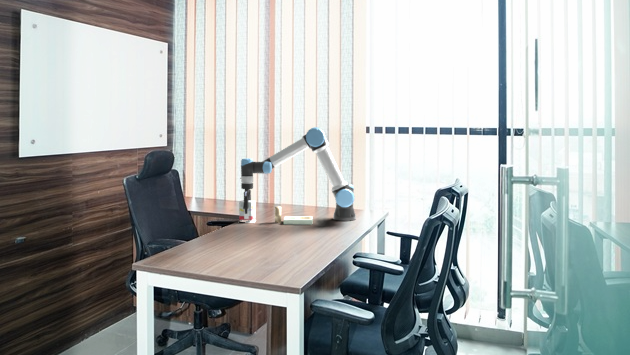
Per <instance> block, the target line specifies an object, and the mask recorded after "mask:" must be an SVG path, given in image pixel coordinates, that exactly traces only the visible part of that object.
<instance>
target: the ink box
mask: <svg viewBox="0 0 630 355" xmlns="http://www.w3.org/2000/svg"><path fill="white" fill-rule="evenodd" d="M238 202H239V204H238V205H239V209H238V211H239V215H238V216H239V221H240V220H256V204H257V203H256V200H252V199H251V200H249V202H248V208H249V219H244V209H243V207H244V199H243V200H240V201H238Z"/></svg>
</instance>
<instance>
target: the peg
mask: <svg viewBox="0 0 630 355" xmlns="http://www.w3.org/2000/svg"><path fill="white" fill-rule="evenodd" d="M281 223H282V206H274V224H281Z"/></svg>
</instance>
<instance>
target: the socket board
mask: <svg viewBox="0 0 630 355" xmlns="http://www.w3.org/2000/svg"><path fill="white" fill-rule="evenodd" d="M313 217H314V216H311V215H309V216H305V215H304V216H301V215H300V216H294V215H293V216H291V215H289V216H288V215H287V216H284V217H283V225H295V226H296V225H303V226H304V225H307V226H308V225H309V226H310V225H311V226H312V225H313V221H314V218H313Z"/></svg>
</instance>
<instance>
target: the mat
mask: <svg viewBox="0 0 630 355" xmlns="http://www.w3.org/2000/svg"><path fill="white" fill-rule="evenodd" d="M239 221H242V220H239ZM256 221H257V219H253V220H248V221H246V222H245V223H244V224H255V223H256Z"/></svg>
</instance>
